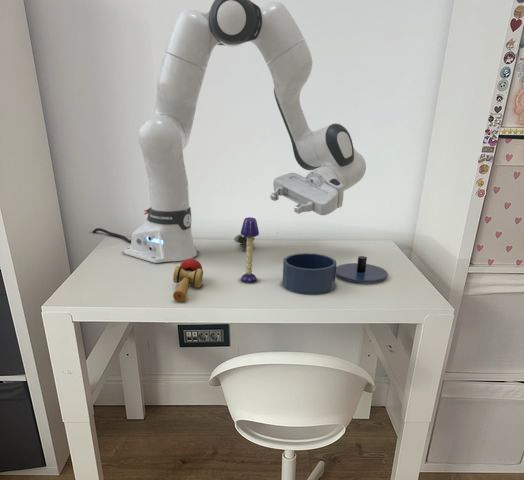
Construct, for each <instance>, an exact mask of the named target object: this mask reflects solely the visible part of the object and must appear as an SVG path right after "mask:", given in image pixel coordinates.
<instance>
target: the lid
mask: <svg viewBox="0 0 524 480" xmlns="http://www.w3.org/2000/svg"><path fill="white" fill-rule="evenodd" d="M367 261H368V257H367V256H364V255H359V256H358V257H357V262H349V263H342V264H339V265H337V266H336V276H337V277H338V278H340V279H343V280H345V281H350V282H353V283H366V284H367V283H378V282H382V281H384V280H387V278H388V275H389V273H388V271H387V270H386V269H385V268H383V267H380V266H378V265H375V264H370V263H367Z"/></svg>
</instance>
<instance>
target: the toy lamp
mask: <svg viewBox="0 0 524 480" xmlns="http://www.w3.org/2000/svg"><path fill="white" fill-rule="evenodd" d="M259 230H260V229H259V226H258V222H257V219H256V218H254V217H250V216H249V217H245V218H244V219H243V222H242V226H241V230H240V234H241V235H242V237H243V236H247V248H246V249H245V250H246V254H245V256H246V258H245V273H244V274H242V276H241V278H240V281H241V282H242V283H244V284H254V283H256V282H257V281H258V279H257V277H256V274H254V273H253V259H254V258H253V256H254V253H253V250H254V248H253V247H254V240H253V237H254V238H255V236H256V237H257V236H259V235H260V232H259ZM252 240H253V241H252ZM252 246H253V247H252Z"/></svg>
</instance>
